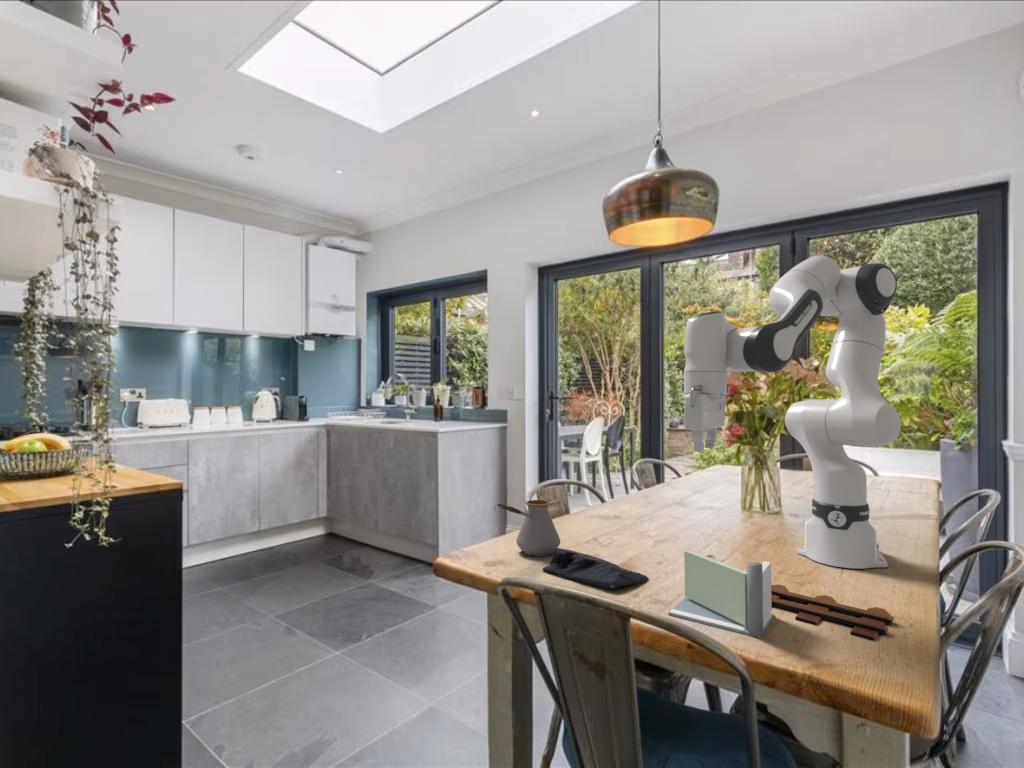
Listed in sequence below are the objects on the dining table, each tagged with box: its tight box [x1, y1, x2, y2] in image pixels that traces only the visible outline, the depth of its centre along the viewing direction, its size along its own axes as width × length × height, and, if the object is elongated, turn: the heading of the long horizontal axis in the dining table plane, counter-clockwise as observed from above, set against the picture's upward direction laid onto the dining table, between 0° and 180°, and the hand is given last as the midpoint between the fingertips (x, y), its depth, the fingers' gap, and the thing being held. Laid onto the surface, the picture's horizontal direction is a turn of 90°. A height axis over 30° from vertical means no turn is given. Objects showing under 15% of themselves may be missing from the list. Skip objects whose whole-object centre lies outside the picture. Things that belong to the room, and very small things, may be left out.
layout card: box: [668, 596, 775, 639], centre depth 101 cm, size 11×16×1 cm
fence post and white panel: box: [746, 560, 773, 638], centre depth 96 cm, size 11×2×12 cm, turn 143°
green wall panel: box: [683, 549, 748, 626], centre depth 101 cm, size 15×1×9 cm, turn 25°
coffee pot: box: [494, 499, 561, 557], centre depth 137 cm, size 21×12×15 cm, turn 139°
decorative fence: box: [771, 584, 895, 642], centre depth 103 cm, size 23×2×15 cm
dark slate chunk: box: [542, 547, 649, 590], centre depth 123 cm, size 15×22×5 cm
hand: (704, 449), depth 118 cm, fingers open, 8 cm apart
